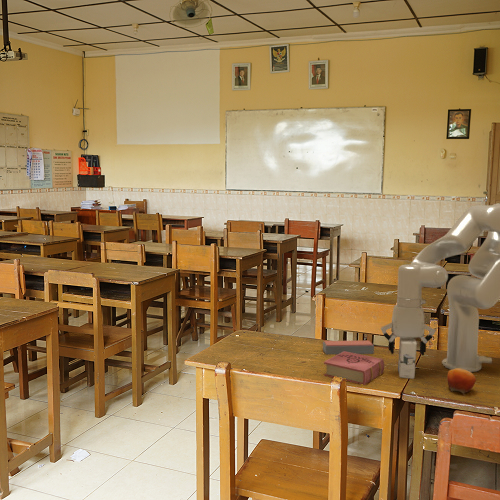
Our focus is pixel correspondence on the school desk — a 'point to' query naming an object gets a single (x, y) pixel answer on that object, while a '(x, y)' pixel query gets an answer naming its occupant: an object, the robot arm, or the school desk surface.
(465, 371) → the fruit
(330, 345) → the pencil case
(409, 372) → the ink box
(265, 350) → the school desk surface
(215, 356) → the school desk surface
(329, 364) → the book
